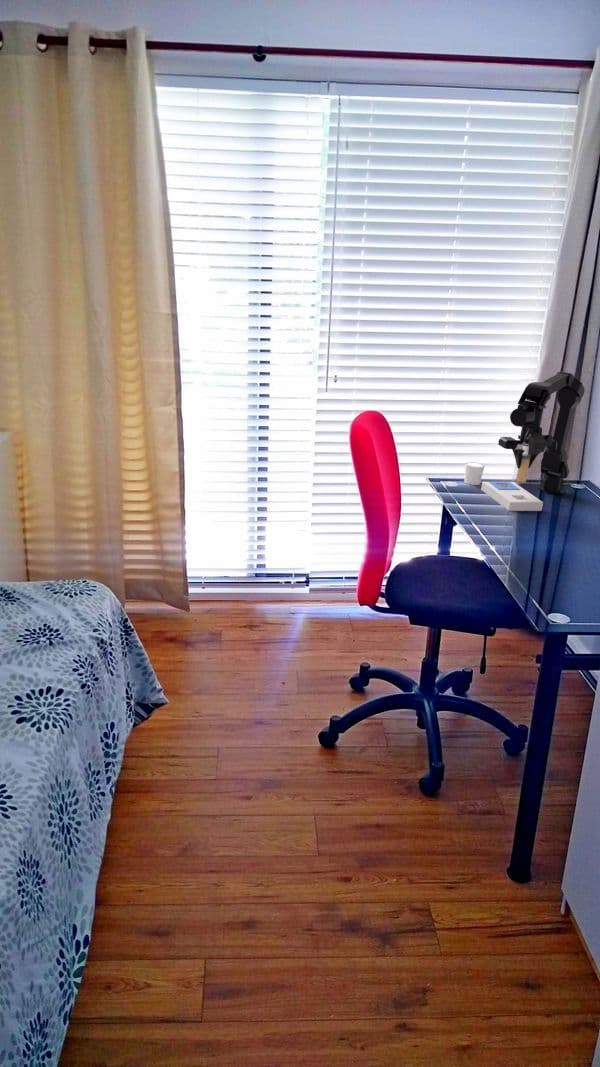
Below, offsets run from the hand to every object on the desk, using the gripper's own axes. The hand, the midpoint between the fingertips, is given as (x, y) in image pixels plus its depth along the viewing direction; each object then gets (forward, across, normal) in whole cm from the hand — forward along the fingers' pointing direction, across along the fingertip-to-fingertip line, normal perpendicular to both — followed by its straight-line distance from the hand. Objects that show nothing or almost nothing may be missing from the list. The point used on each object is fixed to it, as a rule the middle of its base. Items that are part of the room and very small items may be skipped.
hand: (523, 468), depth 261 cm
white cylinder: (+13, -6, +23) cm, 27 cm away
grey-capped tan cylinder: (+4, 0, 0) cm, 5 cm away
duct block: (+13, 0, +4) cm, 14 cm away
